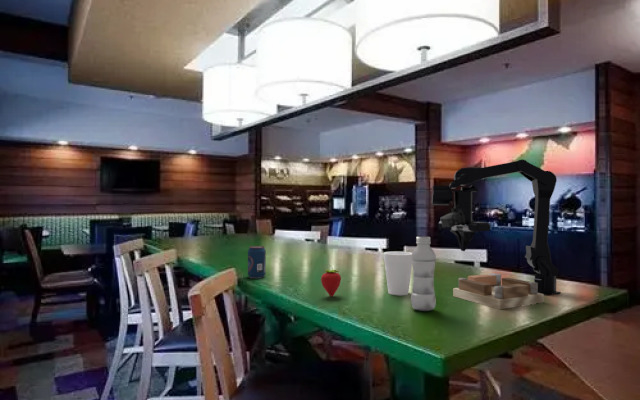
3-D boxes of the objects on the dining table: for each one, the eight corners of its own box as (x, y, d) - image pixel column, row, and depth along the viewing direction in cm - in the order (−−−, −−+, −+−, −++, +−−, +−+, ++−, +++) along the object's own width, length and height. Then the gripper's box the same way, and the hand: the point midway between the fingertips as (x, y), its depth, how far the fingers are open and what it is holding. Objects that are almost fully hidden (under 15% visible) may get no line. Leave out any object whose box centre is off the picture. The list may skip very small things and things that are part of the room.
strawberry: (317, 297, 130) (317, 265, 130) (328, 293, 137) (328, 262, 137) (334, 299, 127) (334, 266, 127) (344, 295, 134) (344, 263, 134)
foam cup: (391, 297, 131) (391, 255, 131) (379, 291, 140) (379, 252, 140) (418, 295, 134) (418, 254, 134) (405, 289, 143) (405, 251, 143)
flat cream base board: (494, 291, 140) (494, 274, 140) (543, 302, 124) (543, 283, 124) (453, 296, 133) (453, 278, 133) (499, 309, 116) (499, 288, 116)
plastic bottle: (417, 306, 120) (417, 235, 120) (439, 310, 115) (439, 237, 115) (406, 310, 115) (406, 237, 115) (429, 314, 110) (429, 238, 110)
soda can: (245, 276, 167) (245, 246, 168) (261, 275, 171) (262, 245, 171) (251, 279, 161) (251, 247, 161) (268, 277, 165) (268, 247, 165)
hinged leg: (495, 282, 140) (495, 273, 140) (503, 284, 137) (503, 274, 137) (467, 285, 135) (467, 275, 135) (475, 287, 132) (475, 277, 132)
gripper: (426, 205, 149) (426, 249, 149) (465, 205, 132) (465, 255, 132) (450, 205, 154) (450, 247, 153) (491, 205, 137) (491, 253, 137)
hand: (463, 250), depth 144 cm, fingers closed
